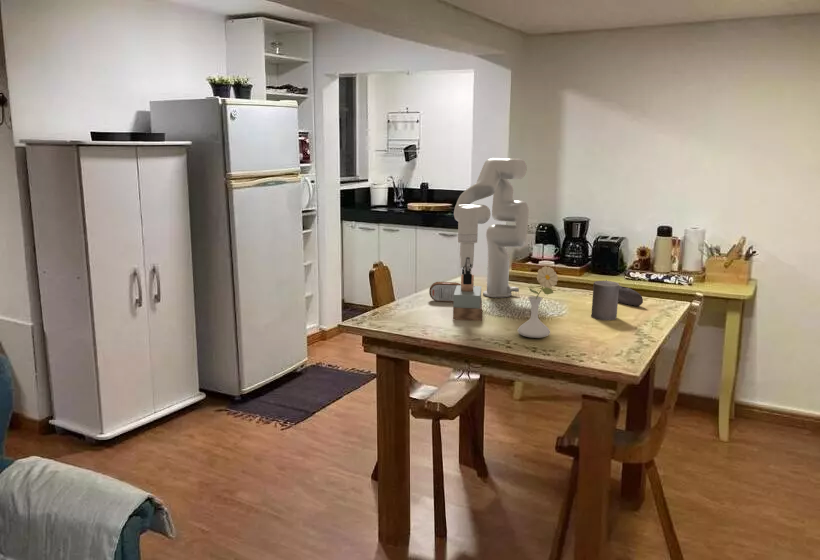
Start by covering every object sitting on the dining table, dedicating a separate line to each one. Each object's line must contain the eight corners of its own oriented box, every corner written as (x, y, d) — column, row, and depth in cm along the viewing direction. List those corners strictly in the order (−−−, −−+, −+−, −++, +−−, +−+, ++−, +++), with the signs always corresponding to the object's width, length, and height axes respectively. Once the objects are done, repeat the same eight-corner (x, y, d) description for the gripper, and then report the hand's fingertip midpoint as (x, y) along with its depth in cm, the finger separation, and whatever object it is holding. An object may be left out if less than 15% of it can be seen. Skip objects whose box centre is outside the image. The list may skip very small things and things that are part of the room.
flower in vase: (519, 340, 228) (522, 268, 223) (515, 331, 240) (518, 262, 235) (557, 341, 228) (561, 269, 223) (552, 332, 239) (555, 263, 234)
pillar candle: (586, 315, 263) (588, 278, 260) (606, 313, 267) (608, 276, 264) (601, 321, 254) (604, 283, 251) (622, 319, 258) (625, 281, 255)
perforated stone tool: (646, 307, 277) (647, 291, 276) (637, 308, 275) (638, 292, 273) (619, 300, 290) (620, 284, 289) (610, 301, 288) (611, 285, 286)
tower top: (481, 298, 271) (481, 286, 270) (479, 308, 254) (480, 295, 253) (456, 297, 272) (456, 285, 271) (453, 307, 255) (453, 294, 254)
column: (473, 288, 265) (473, 274, 263) (473, 291, 260) (474, 276, 258) (460, 288, 265) (460, 273, 263) (461, 291, 260) (461, 276, 259)
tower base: (481, 309, 273) (481, 297, 272) (481, 321, 254) (482, 309, 253) (454, 308, 274) (454, 297, 273) (453, 320, 255) (453, 308, 254)
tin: (464, 301, 285) (464, 282, 284) (464, 303, 282) (464, 283, 281) (429, 300, 287) (429, 281, 285) (428, 301, 284) (429, 282, 282)
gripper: (457, 235, 266) (456, 277, 270) (459, 241, 249) (458, 286, 253) (475, 235, 266) (474, 277, 270) (479, 241, 249) (477, 286, 253)
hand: (466, 281), depth 261 cm, fingers open, 9 cm apart
